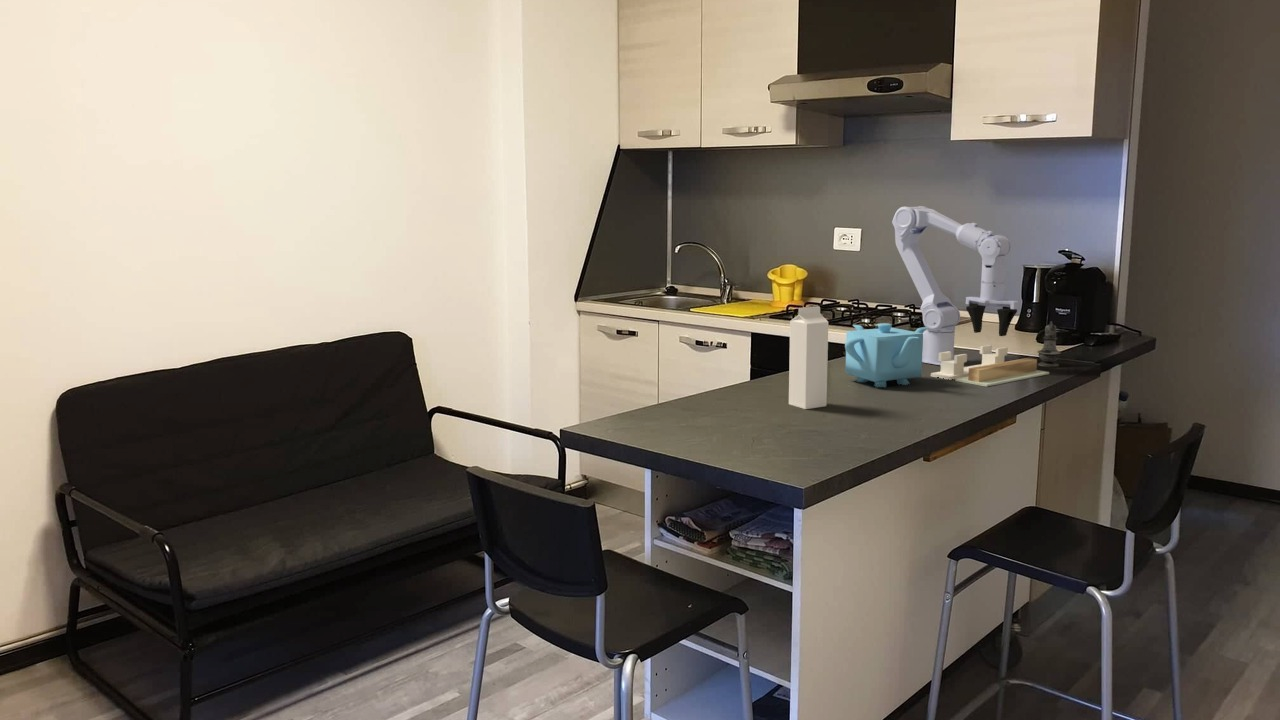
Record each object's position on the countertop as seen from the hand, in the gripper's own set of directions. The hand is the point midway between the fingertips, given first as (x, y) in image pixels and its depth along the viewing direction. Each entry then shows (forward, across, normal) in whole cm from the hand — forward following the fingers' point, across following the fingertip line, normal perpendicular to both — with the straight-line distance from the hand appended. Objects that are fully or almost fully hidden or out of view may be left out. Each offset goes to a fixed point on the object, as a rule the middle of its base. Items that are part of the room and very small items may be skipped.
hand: (989, 334), depth 253 cm
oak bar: (+9, +9, -6) cm, 14 cm away
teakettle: (+10, -5, -34) cm, 36 cm away
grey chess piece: (+10, +6, +18) cm, 21 cm away
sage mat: (+9, +9, -6) cm, 15 cm away
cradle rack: (+9, 0, -6) cm, 11 cm away
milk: (+10, +2, -68) cm, 69 cm away
